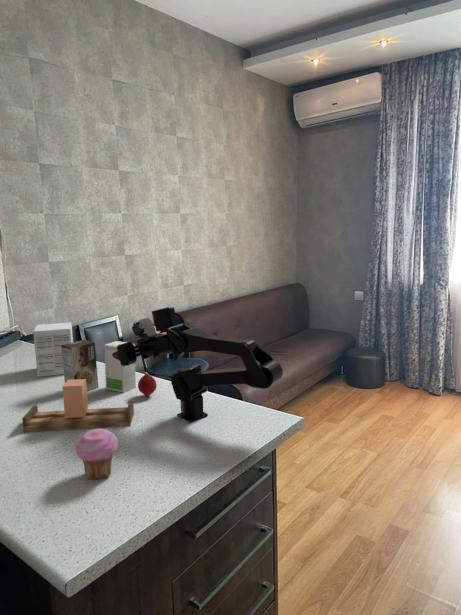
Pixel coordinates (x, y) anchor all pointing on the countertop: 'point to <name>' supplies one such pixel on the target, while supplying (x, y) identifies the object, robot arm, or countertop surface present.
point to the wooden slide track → (77, 419)
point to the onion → (147, 384)
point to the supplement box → (51, 347)
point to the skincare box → (118, 371)
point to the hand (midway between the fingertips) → (123, 351)
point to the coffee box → (80, 362)
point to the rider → (75, 398)
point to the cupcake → (97, 452)
